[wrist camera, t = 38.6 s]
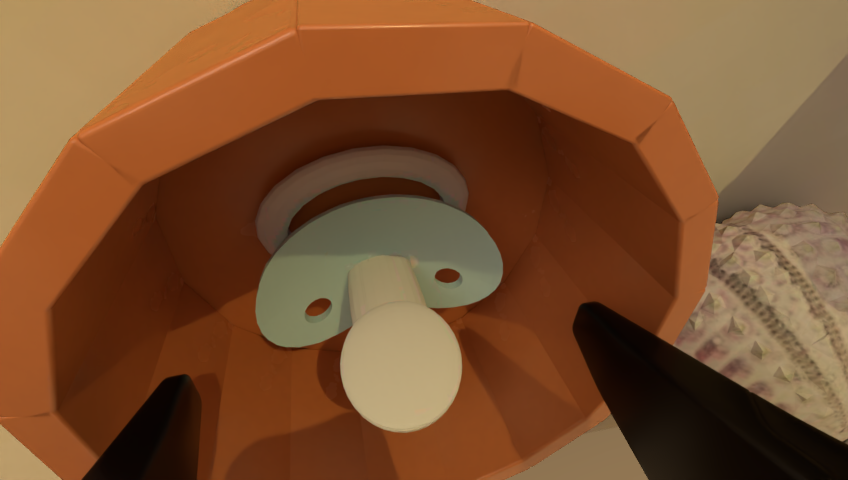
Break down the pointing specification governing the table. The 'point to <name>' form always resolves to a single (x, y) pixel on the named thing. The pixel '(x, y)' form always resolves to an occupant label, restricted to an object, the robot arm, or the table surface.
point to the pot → (304, 143)
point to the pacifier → (377, 278)
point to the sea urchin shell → (779, 311)
